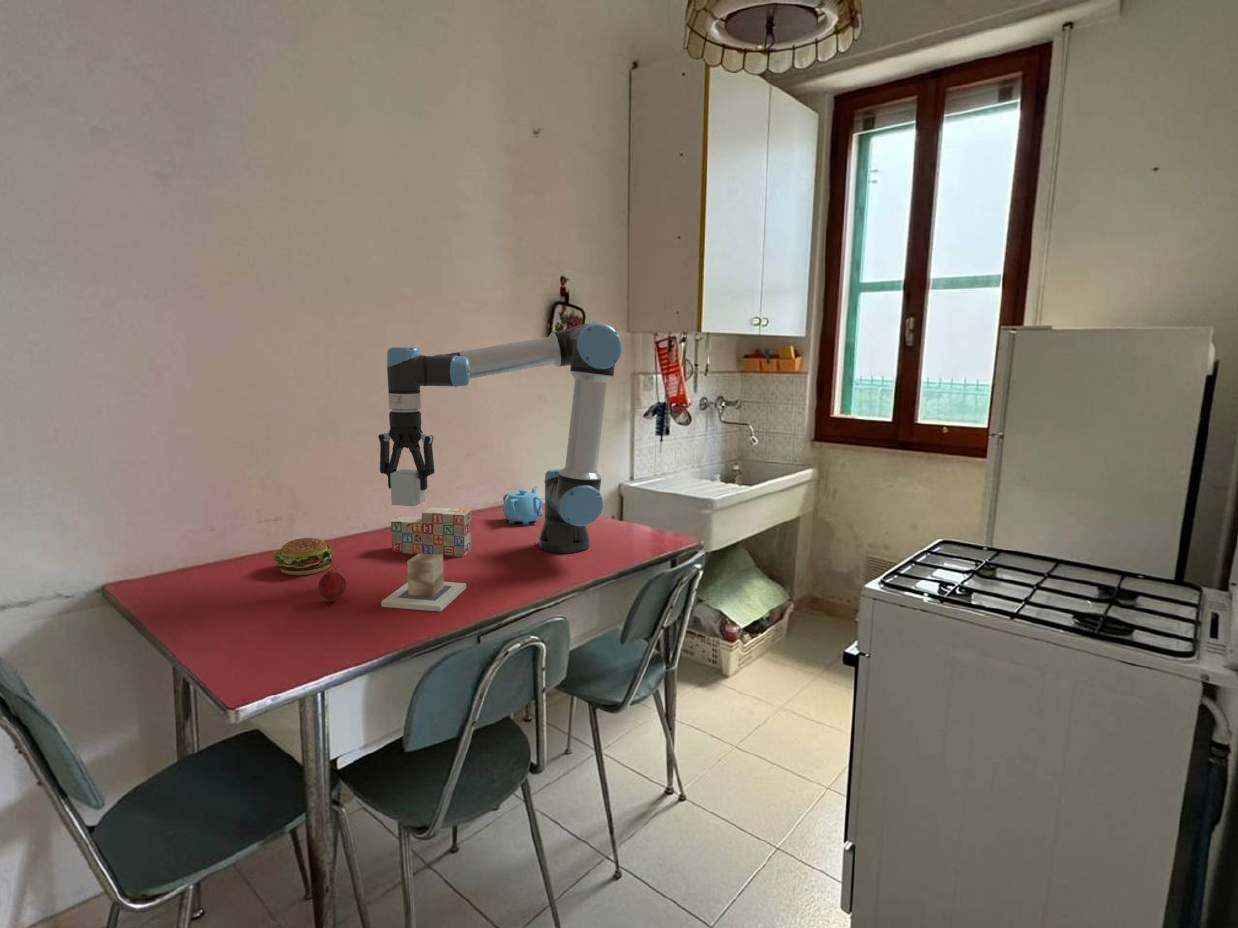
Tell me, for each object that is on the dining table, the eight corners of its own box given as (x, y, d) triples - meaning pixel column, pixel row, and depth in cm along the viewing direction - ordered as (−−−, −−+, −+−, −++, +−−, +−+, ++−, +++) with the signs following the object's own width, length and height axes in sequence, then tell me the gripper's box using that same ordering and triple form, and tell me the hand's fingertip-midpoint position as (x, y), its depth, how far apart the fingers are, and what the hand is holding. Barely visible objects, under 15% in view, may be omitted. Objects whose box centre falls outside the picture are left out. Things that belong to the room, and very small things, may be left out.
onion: (329, 608, 148) (327, 574, 147) (313, 602, 151) (311, 569, 150) (352, 600, 153) (350, 567, 152) (336, 595, 156) (334, 562, 155)
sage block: (424, 500, 172) (423, 470, 171) (414, 506, 166) (413, 474, 165) (402, 499, 173) (401, 469, 171) (391, 504, 167) (390, 473, 166)
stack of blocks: (391, 553, 189) (389, 510, 187) (401, 546, 195) (399, 505, 193) (464, 557, 187) (463, 514, 185) (472, 550, 193) (471, 509, 191)
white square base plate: (466, 588, 163) (466, 582, 162) (440, 611, 148) (440, 605, 148) (411, 583, 165) (411, 578, 164) (381, 606, 150) (381, 600, 150)
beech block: (443, 587, 159) (442, 555, 157) (433, 596, 153) (432, 563, 152) (419, 585, 160) (418, 553, 158) (408, 594, 154) (407, 561, 152)
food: (264, 569, 173) (262, 539, 172) (319, 557, 184) (317, 529, 182) (286, 582, 164) (283, 551, 163) (342, 569, 174) (340, 540, 173)
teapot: (506, 528, 218) (507, 495, 215) (500, 516, 231) (500, 484, 229) (545, 526, 222) (545, 494, 220) (536, 514, 235) (536, 483, 233)
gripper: (361, 410, 163) (365, 503, 167) (434, 413, 160) (437, 507, 164) (376, 407, 170) (380, 496, 174) (447, 410, 168) (449, 500, 171)
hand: (408, 501), depth 169 cm, fingers closed on sage block, 6 cm apart
